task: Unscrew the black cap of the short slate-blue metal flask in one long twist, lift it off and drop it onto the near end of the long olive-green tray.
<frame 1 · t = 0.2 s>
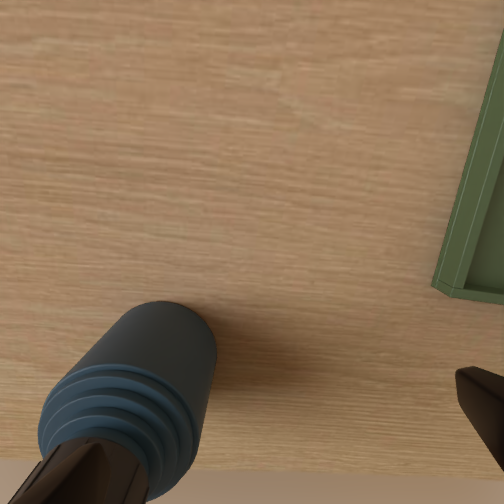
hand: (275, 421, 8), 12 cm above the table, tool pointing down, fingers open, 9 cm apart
flask: (163, 351, 21), on the table
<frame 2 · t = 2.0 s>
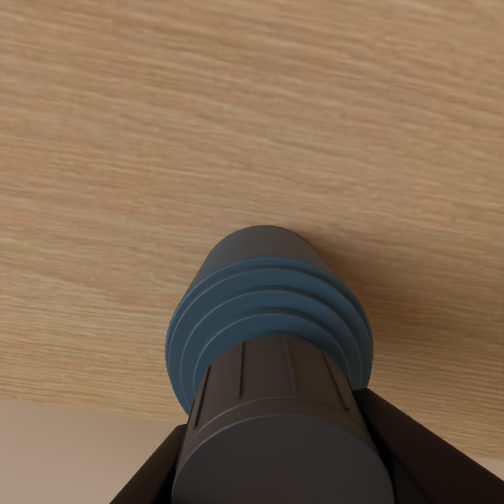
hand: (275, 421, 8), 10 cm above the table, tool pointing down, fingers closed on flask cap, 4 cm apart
flask: (263, 288, 17), on the table
flask cap: (280, 490, 6), point 12 cm above the table, screwed on, not yet turned, touching gripper
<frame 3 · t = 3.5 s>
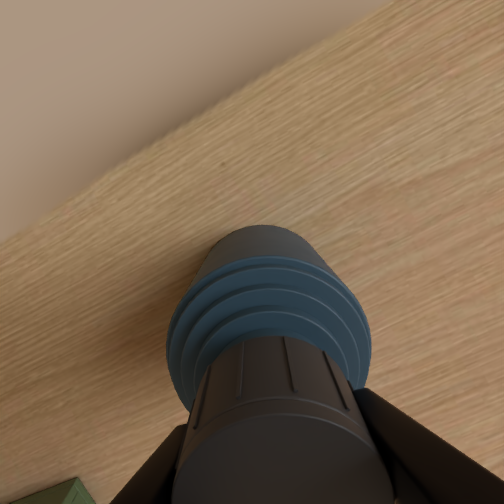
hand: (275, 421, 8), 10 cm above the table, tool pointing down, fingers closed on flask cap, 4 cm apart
flask: (262, 287, 18), on the table
flask cap: (280, 490, 6), point 12 cm above the table, turned 142° so far, risen 0.1 cm, still on its thread, touching gripper
when the fingers open (1 cm above the table, at t = 10.3 s): flask cap stays where it is, resting on tray.
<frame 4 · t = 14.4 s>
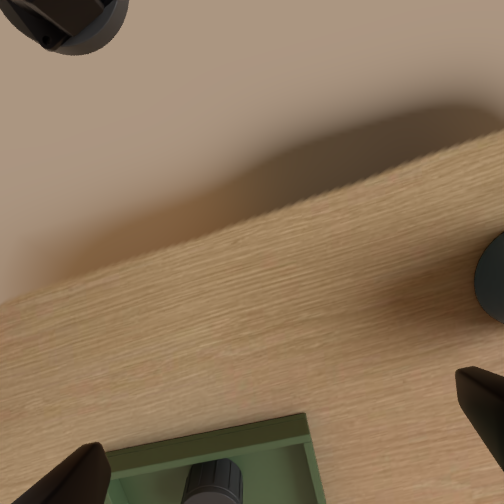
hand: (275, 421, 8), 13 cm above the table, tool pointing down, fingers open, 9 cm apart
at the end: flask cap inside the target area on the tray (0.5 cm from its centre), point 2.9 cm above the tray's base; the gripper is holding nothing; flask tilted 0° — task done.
